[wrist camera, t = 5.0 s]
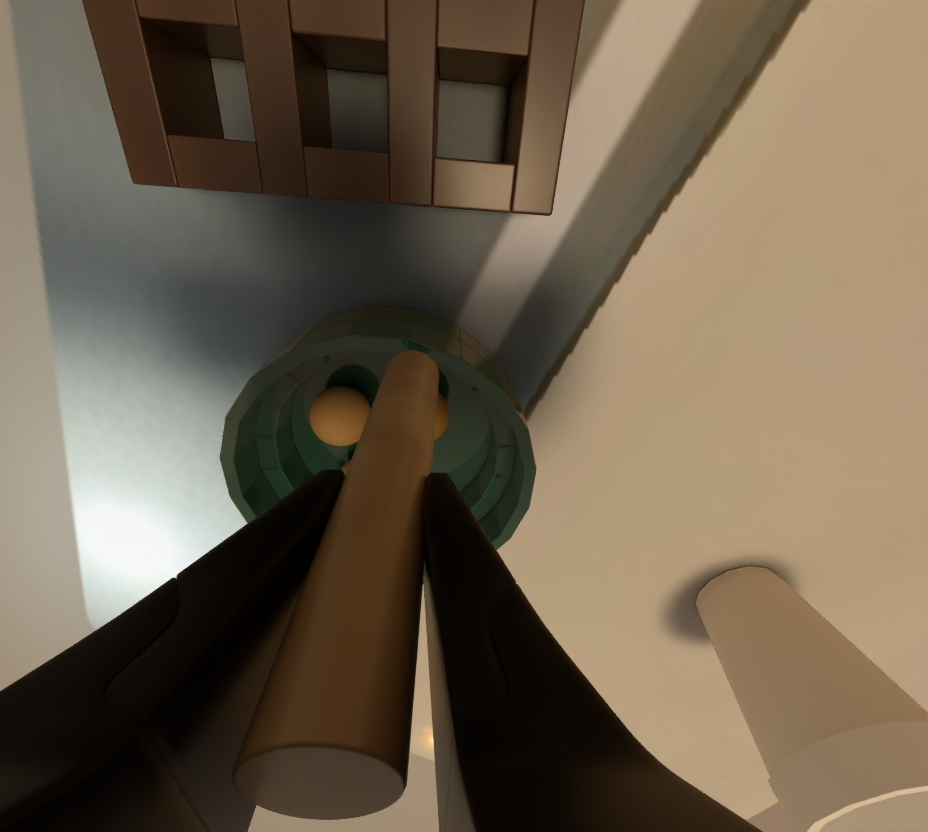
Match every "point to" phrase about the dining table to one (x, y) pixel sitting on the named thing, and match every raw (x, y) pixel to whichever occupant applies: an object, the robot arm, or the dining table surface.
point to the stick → (353, 627)
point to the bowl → (362, 368)
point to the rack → (306, 94)
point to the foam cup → (818, 710)
